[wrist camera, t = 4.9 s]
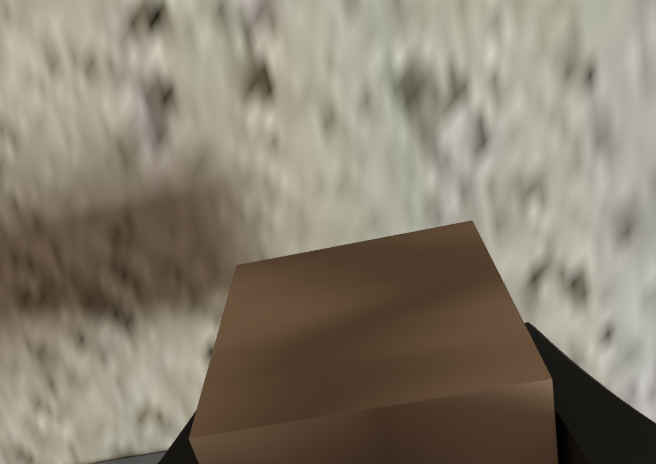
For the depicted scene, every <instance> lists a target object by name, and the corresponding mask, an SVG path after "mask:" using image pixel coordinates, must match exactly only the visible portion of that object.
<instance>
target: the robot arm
mask: <svg viewBox="0 0 656 464" xmlns="http://www.w3.org/2000/svg"><path fill="white" fill-rule="evenodd" d="M524 324H525V326H526V328H527V330H528V332H529V334H530V336H531V338H532V340H533V342H534V344H535V346H536V348H537V350H538V352H539V354H540V356H541V358H542V360H543V362H544V364H545V366H546V368H547V370H548V371H549V373H550V375H551V377H552V383H553V397H554V411H555V426H556V440H557V454H558V464H656V423H655V422H653V421H652V420H650V419H649V418H647V417H646V416H644V415H643V414H641V413H640V412H638V411H637V410H635V409H634V408H633V407H631V406H630V405H628V404H627V403H626V402H624V401H623V400H621V399H620V398H619V397H617V396H616V395H615V394H613V393H612V392H611V391H609V390H608V389H607V388H605V387H604V386H603V385H602V384H600V383H599V382H598V381H596V380H595V379H594V378H593V377H591V376H590V375H589V374H588V373H586V372H585V371H584V370H583V369H581V368H580V367H579V366H578V365H577V364H575V363H574V362H573V361H572V360H571V359H570V358H568V357H567V356H566V355H565V354H564V353H563V352H562V351H560V350H559V349H558V348H557V347H556V346H555V345H554V344H553V343H551V342H550V341H549V340H548V339H547V338H546V337H545V336H544V335H543V334H542V333H541V332H540V331H539V330H537V329H536V328H535V327H534V326H533V325H531V324H530V323H528V322H527V323H524ZM195 414H196V411H195V413H194V414H193V416H192V417H191V419H190V420H189V422H188V423H187V424H186V426H185V427H184V429H183V430H182V431H181V433H180V434H179V436H178V437H177V438H176V440H175V441H174V443H173V444H172V445H171V447H170V448H169V449H168V451H167V452H166V454H165V455H164V456H163V457H162V459H161V460H160V461H159V462H158V464H199V463H198V460H197V458H196V455H195V453H194V451H193V448H192V446H191V443H190V441H189V436H190V432H191V428H192V425H193V421H194V418H195Z"/></svg>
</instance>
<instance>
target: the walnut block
mask: <svg viewBox="0 0 656 464" xmlns="http://www.w3.org/2000/svg"><path fill="white" fill-rule="evenodd" d="M189 441H190V443H191V446H192V448H193V451H194V453H195V455H196V458H197V460H198V463H199V464H558V454H557V440H556V426H555V411H554V397H553V383H552V377H551V375H550V373H549V371H548V370H547V368H546V366H545V364H544V362H543V360H542V358H541V356H540V354H539V352H538V350H537V348H536V346H535V344H534V342H533V340H532V338H531V336H530V334H529V332H528V330H527V328H526V326H525V324H524V322H523V320H522V318H521V316H520V314H519V312H518V310H517V308H516V306H515V304H514V302H513V300H512V298H511V296H510V294H509V292H508V290H507V288H506V286H505V284H504V282H503V280H502V278H501V276H500V274H499V272H498V270H497V268H496V266H495V264H494V262H493V260H492V258H491V257H490V255H489V253H488V251H487V249H486V247H485V245H484V243H483V241H482V239H481V237H480V235H479V233H478V231H477V229H476V227H475V225H474V223H473V221H467V222H462V223H457V224H452V225H446V226H441V227H436V228H431V229H425V230H420V231H415V232H409V233H404V234H399V235H394V236H388V237H383V238H378V239H373V240H367V241H362V242H357V243H352V244H346V245H341V246H336V247H331V248H325V249H320V250H315V251H310V252H304V253H299V254H294V255H289V256H283V257H278V258H273V259H267V260H262V261H257V262H252V263H246V264H241V265H237V266H236V270H235V273H234V277H233V281H232V284H231V288H230V291H229V295H228V299H227V302H226V306H225V309H224V313H223V317H222V320H221V324H220V327H219V331H218V335H217V338H216V342H215V345H214V349H213V353H212V356H211V360H210V363H209V367H208V371H207V374H206V378H205V382H204V385H203V389H202V392H201V396H200V400H199V403H198V407H197V410H196V414H195V418H194V421H193V425H192V428H191V432H190V436H189Z"/></svg>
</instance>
